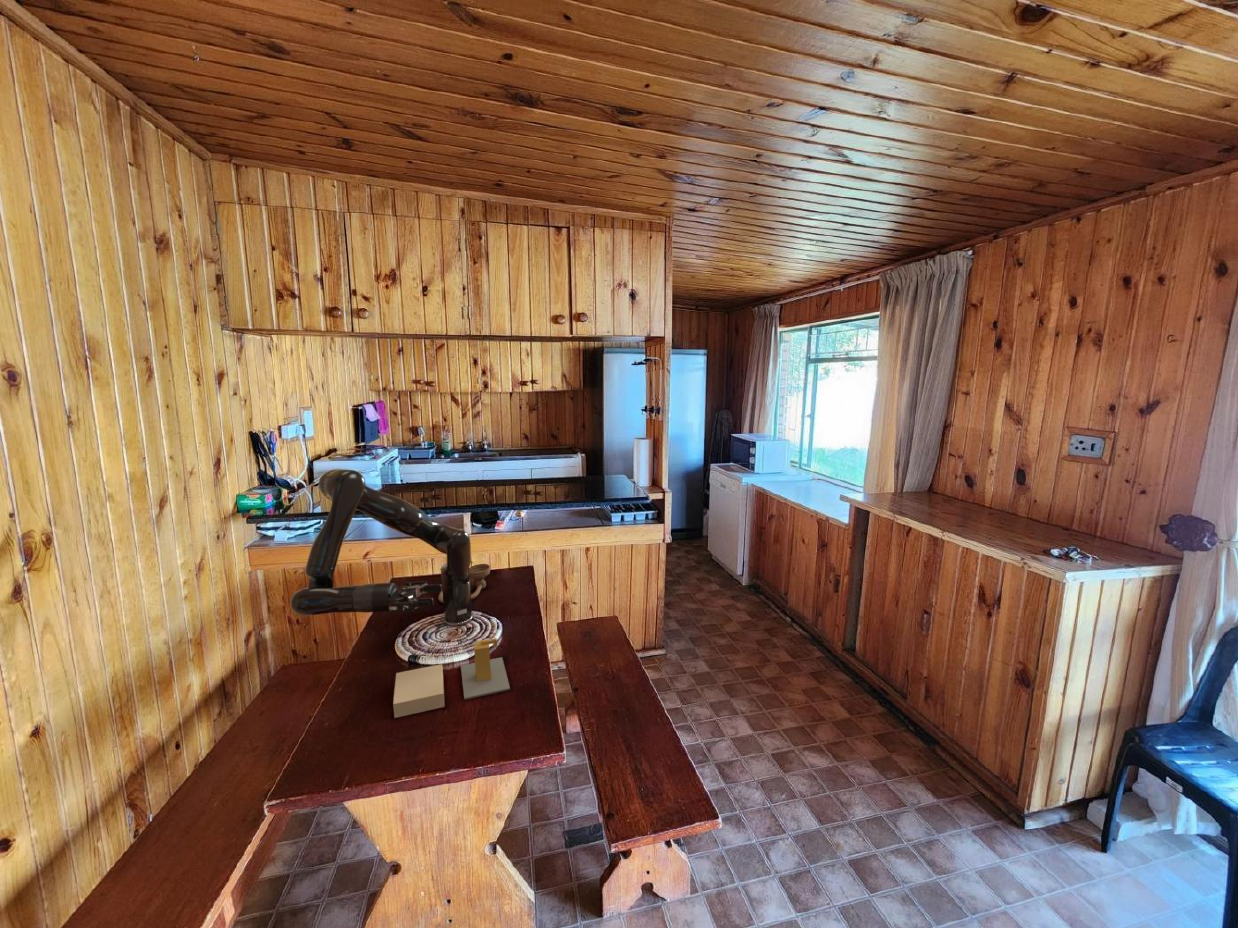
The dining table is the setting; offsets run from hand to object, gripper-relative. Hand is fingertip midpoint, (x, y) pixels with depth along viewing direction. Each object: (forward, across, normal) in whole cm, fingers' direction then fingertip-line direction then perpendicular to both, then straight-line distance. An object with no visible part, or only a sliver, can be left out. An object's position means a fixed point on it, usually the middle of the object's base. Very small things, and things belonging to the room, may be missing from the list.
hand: (437, 594), depth 137 cm
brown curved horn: (-5, +58, +26) cm, 64 cm away
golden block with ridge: (+12, 0, +25) cm, 28 cm away
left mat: (+11, 0, +26) cm, 28 cm away
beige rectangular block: (-5, -6, +26) cm, 27 cm away
